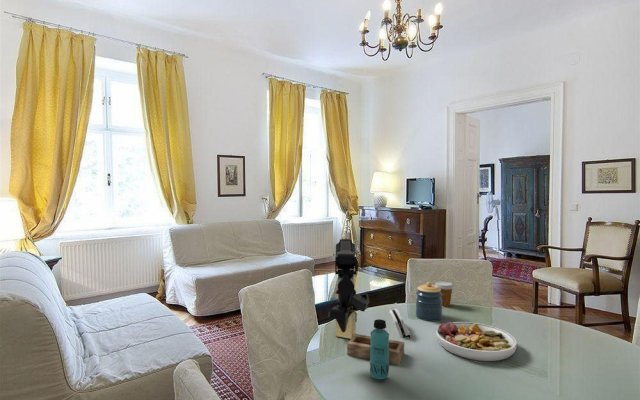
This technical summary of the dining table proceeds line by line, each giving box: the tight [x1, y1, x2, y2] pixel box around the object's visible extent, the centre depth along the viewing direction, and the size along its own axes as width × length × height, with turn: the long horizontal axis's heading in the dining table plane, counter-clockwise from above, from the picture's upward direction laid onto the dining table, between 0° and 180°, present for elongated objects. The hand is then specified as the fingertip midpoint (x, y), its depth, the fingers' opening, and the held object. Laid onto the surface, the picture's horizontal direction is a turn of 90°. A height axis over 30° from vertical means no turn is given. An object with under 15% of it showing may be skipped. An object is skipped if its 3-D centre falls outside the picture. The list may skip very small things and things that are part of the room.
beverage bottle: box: [369, 318, 390, 380], centre depth 125 cm, size 6×7×20 cm
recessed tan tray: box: [346, 333, 405, 365], centre depth 143 cm, size 20×10×4 cm, turn 66°
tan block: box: [335, 309, 357, 340], centre depth 135 cm, size 6×4×9 cm
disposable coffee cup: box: [434, 281, 454, 308], centre depth 202 cm, size 10×10×12 cm
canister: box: [415, 281, 443, 322], centre depth 184 cm, size 13×13×18 cm
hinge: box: [388, 308, 413, 338], centre depth 168 cm, size 17×5×10 cm, turn 0°
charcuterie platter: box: [435, 321, 518, 362], centre depth 150 cm, size 30×30×8 cm
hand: (345, 329), depth 135 cm, fingers closed on tan block, 4 cm apart
